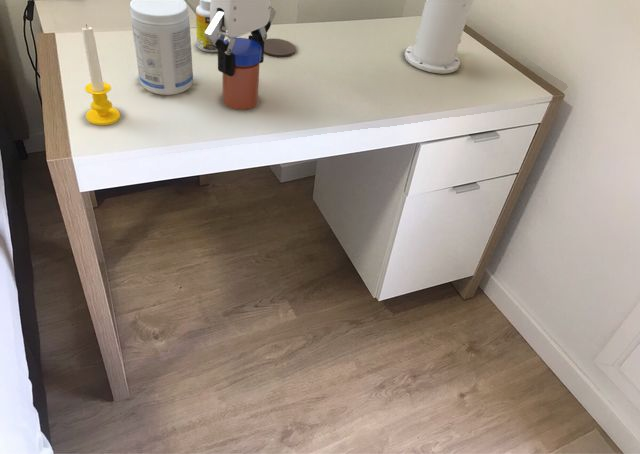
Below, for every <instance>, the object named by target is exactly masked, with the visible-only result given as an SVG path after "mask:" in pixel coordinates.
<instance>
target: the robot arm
mask: <svg viewBox="0 0 640 454" xmlns="http://www.w3.org/2000/svg"><path fill="white" fill-rule="evenodd" d="M473 2H474V0H425V2H424V6H423V10H422V13H421V17H420V20H419V25H418V29H417V32H416V37H415V40H414V43H413V45H409V46H408V47H407V48H406V49H405V51H404V58H405V60H406V62H407V63H409V64H410V65H411V66H413V67H415V68H417V69H419V70H422V71H424V72H428V73H433V74H441V75H442V74H451V73H454V72H456V71H457V70H458V69H459V67H460V64H461V61H460V59H459V57H458V56H457V52H458V47H459V46H460V44H461V43H462V35H463V32H464V29H465V26H466V23H467V20H468V17H469V13H470V11H471V9H472V4H473ZM276 14H277V11H276V10H275V8H273V7H272V0H211V3H210V25H209V27H208V28H207V30H206V31H205V34H204V35H205V37H206V38H207V39H208V40H209V41H210V43H211V44H212V45H213V46H214V47H215V49H217V50H218V52H217V70H218V72H220V73H222V74H223V73H224V74H226V75H228V76H230V77H231V76H233V75H234V54H233V53H231V52H232V49H233V46H234V43H235V40H236V38H240V37H241V36H244V35H246V34H249V35H248V38H247V39H251V40H254V41H256V42H258V43H259V44H260V45H261V47H262V59H261V61H260V64H262V63H264V58H265V57H264V56H265V54H264V41H263V40H266V39H268V31H270V28H271V26H272V22H273V20H274V19H275V16H276ZM218 32H219V33H218ZM225 38H227V39H228V41H227V44H225V43H224V41H225V40H226V39H225Z"/></svg>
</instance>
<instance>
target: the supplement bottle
mask: <svg viewBox="0 0 640 454" xmlns="http://www.w3.org/2000/svg"><path fill="white" fill-rule="evenodd" d="M210 3H211V0H199V4H198V5H197V6H196V7H195V8H196V9H195V20H196V21H195V22H196V24H195V25H196V27H195V28H196V46H197V48H198V49H200V50H201V51H203V52H207V53H218V50H217V49H215V47H214V46H213V45H212V44H211V43H210V41H209V40H208V39H207V38H206V37H205V35H204V34H205V31H206V30H207V28H208V27H209V25H210ZM218 33H219V32H218Z"/></svg>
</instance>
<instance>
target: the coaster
mask: <svg viewBox="0 0 640 454" xmlns="http://www.w3.org/2000/svg"><path fill="white" fill-rule="evenodd" d="M263 41H264V55H267V56H269V57H274V58H287V57H291V56H292V55H294V54H295V52H296V46H295V44H293V43H292V42H290V41H288V40H285V39H280V38H267V39H266V40H263Z"/></svg>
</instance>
